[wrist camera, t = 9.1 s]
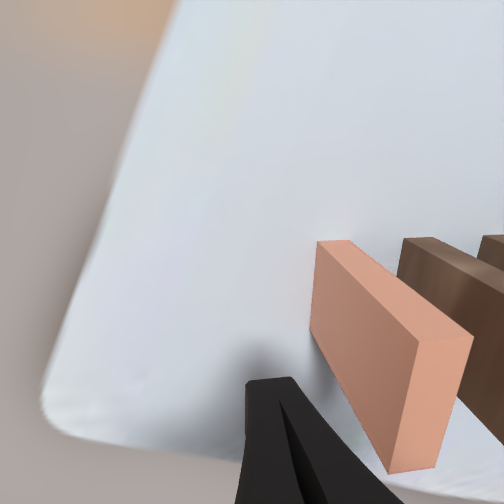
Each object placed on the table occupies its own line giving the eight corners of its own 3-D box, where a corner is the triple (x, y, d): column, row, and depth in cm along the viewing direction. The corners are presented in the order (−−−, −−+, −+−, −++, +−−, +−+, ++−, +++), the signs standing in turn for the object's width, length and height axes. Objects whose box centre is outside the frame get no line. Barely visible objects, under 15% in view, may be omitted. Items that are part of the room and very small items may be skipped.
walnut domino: (432, 237, 17) (615, 325, 9) (414, 321, 19) (555, 450, 11) (403, 238, 17) (568, 329, 9) (387, 323, 18) (513, 456, 11)
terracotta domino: (348, 239, 16) (474, 337, 9) (337, 326, 18) (434, 467, 11) (317, 241, 16) (419, 341, 9) (309, 328, 18) (388, 474, 10)
